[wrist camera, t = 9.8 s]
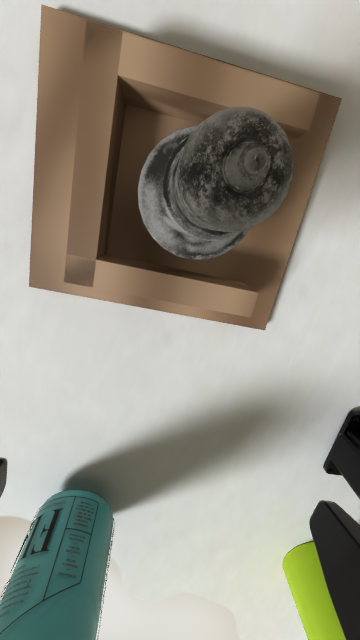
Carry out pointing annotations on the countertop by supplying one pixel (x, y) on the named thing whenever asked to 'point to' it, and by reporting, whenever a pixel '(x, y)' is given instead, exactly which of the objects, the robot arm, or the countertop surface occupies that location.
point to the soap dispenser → (311, 593)
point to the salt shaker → (215, 182)
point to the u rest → (129, 158)
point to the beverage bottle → (60, 571)
